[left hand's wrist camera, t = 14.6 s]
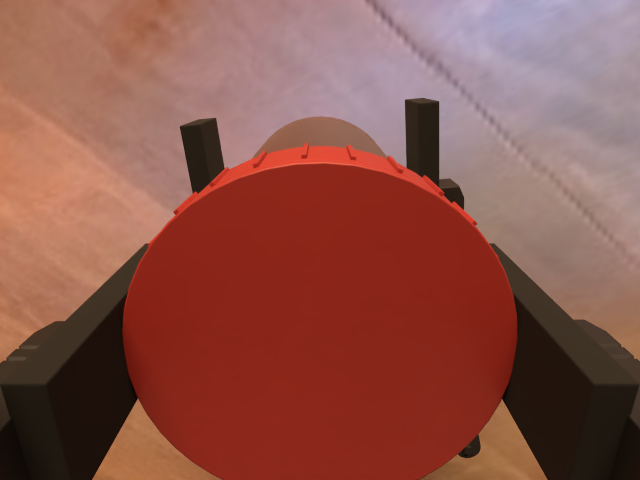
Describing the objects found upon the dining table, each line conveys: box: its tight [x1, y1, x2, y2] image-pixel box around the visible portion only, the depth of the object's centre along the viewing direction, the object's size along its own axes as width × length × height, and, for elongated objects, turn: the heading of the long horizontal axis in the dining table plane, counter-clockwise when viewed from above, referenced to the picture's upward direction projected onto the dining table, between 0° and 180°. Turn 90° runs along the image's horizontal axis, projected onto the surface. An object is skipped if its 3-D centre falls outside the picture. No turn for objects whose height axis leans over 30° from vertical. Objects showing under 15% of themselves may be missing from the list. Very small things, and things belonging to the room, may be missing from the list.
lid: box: [122, 143, 518, 480], centre depth 11 cm, size 9×9×2 cm
